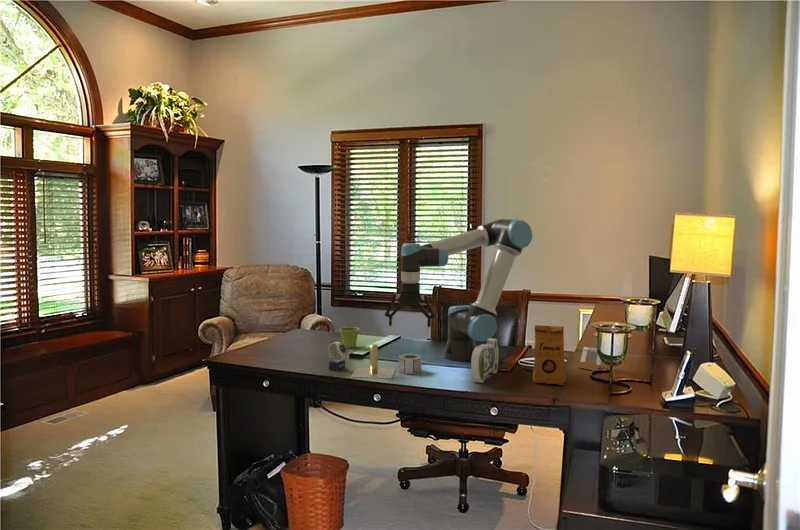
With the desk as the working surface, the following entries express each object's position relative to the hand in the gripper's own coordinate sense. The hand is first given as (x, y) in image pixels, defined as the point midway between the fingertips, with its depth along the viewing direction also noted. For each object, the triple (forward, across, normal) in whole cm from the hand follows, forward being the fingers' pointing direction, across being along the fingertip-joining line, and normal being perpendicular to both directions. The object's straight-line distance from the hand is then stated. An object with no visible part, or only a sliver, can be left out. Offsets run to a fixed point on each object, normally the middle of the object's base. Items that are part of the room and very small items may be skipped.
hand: (409, 334), depth 253 cm
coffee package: (+15, +54, -10) cm, 57 cm away
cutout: (+15, +30, -6) cm, 34 cm away
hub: (+15, 0, 0) cm, 15 cm away
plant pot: (+15, -33, +41) cm, 55 cm away
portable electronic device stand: (+15, +74, +14) cm, 77 cm away
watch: (+16, -30, 0) cm, 34 cm away
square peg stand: (+15, -14, -5) cm, 21 cm away
